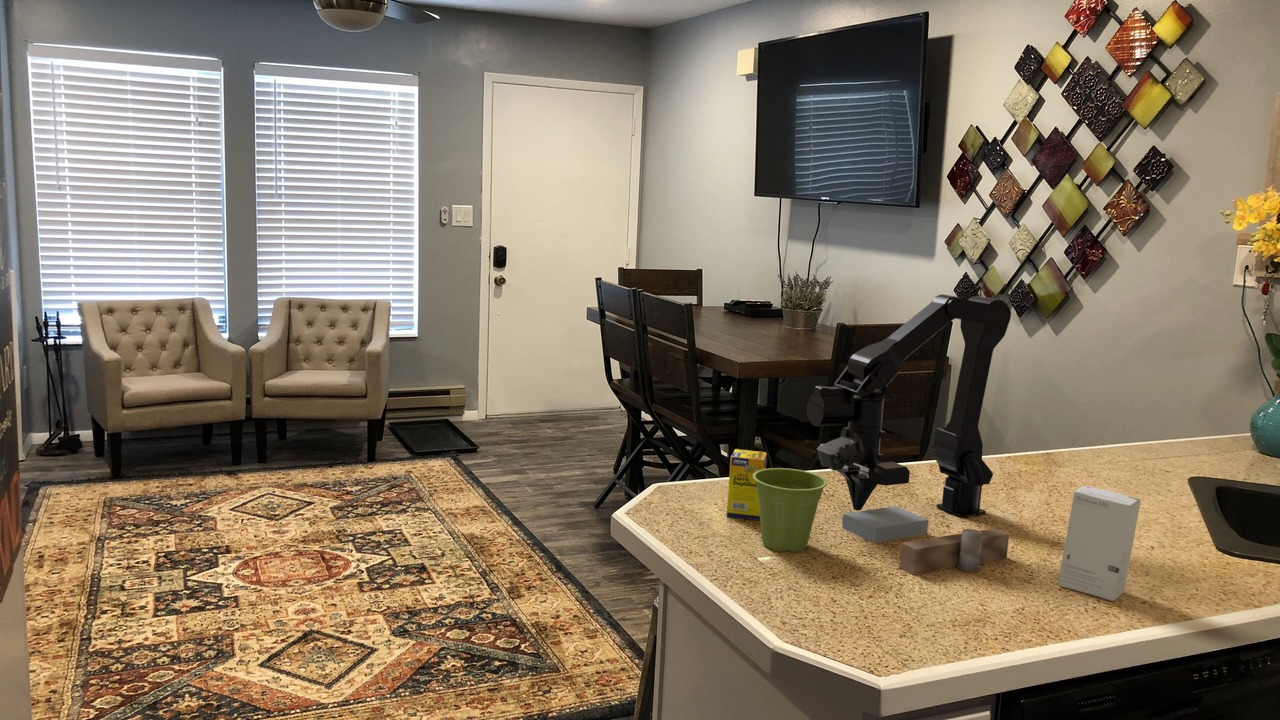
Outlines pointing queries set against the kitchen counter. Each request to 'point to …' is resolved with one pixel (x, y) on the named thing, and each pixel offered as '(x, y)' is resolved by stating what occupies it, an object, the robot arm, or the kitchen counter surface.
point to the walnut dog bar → (954, 551)
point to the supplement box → (744, 484)
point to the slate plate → (885, 524)
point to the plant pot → (787, 506)
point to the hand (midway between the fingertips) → (857, 510)
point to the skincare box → (1099, 542)
